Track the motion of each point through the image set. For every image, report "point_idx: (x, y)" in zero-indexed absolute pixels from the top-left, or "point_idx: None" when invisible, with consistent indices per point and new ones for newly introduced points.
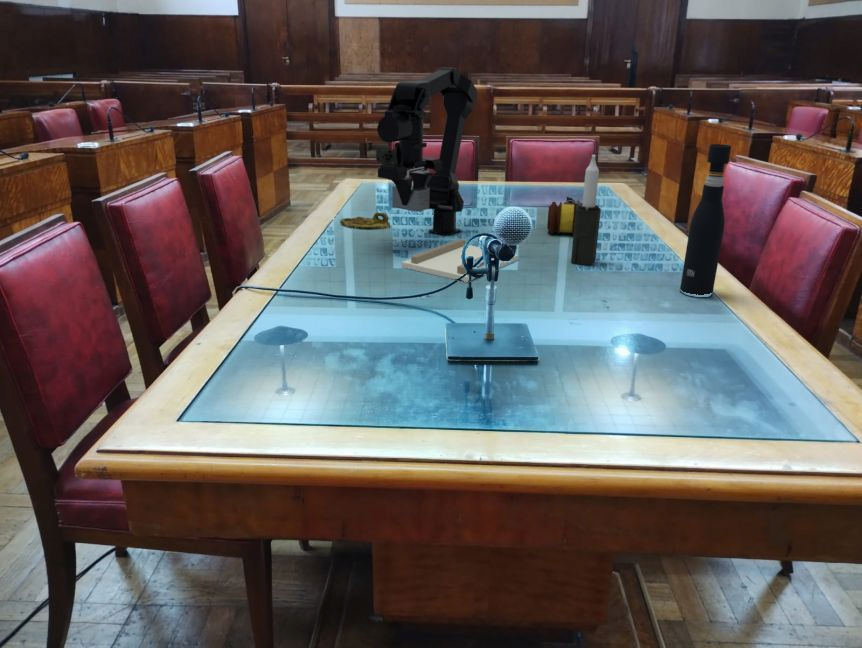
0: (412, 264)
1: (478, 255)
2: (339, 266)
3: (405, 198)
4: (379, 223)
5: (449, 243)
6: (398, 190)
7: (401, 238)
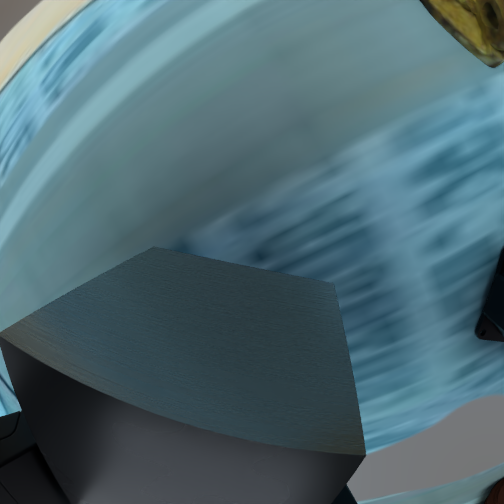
0: None
1: None
2: (5, 192)
3: None
4: (477, 23)
5: None
6: (9, 424)
7: (379, 178)
